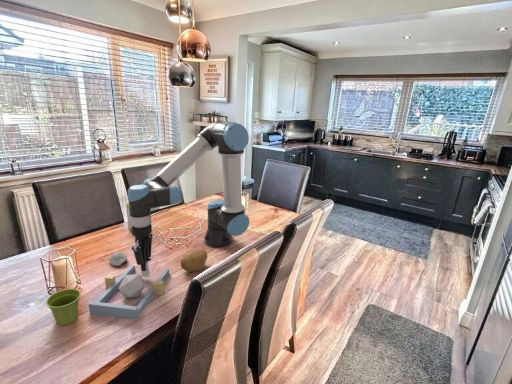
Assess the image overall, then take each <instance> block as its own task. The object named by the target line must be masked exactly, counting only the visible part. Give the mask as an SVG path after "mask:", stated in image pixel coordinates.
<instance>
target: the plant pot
mask: <svg viewBox="0 0 512 384" xmlns="http://www.w3.org/2000/svg"><path fill="white" fill-rule="evenodd" d="M81 294H82V293H81V291H80V290H79V289H77V288H65V289H60V290H58V291H56V292H54V293H53V294H51V295H49V297H47V298H46V301H45V304H46V306H47V307H48V308H49V309H50V311H51V314H52V315H53V318H54V321H55V322H56V325H58V326H64V325H66V326H67V325H70V324H72V323H74V322H75V321H76V320H78V316H79V301H80V298H81Z"/></svg>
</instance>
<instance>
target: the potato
mask: <svg viewBox="0 0 512 384" xmlns="http://www.w3.org/2000/svg"><path fill="white" fill-rule="evenodd" d="M207 259H208V253H207V251H206V250H203V249H198V250H195V251H192V252H189V253H188V254H185V256H183V257H182V258H180V267H181V269H183V270H184V271H185V272H188V273H193V272H197V271H199V270H202V269H203V268H204V267H205V264H206V262H207Z"/></svg>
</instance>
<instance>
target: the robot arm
mask: <svg viewBox="0 0 512 384" xmlns="http://www.w3.org/2000/svg"><path fill="white" fill-rule="evenodd" d="M249 139H250V135H249V132H248V130H247V129H246V127H245V126H244V125H242V123H237V122H235V121H224V120H216V121H214V122H212V123H210V124H208V126H206V127H204V128H203V129H202V130H201V131H200V132H199V133H198V134H197V135H196V139H195V140H194V141H192V142H191V143H190V144H189V145H188V146H187V147H185V149H184V150H182V151H181V152H180V153H179V154H178V155H177V156H176V157H174V159H172V160H171V161H170V162H169V163H168V164H166V166H164V167H163V169H161V170H159V172H158V173H157V174H156V175H155V176H153V177H151V178H146V179H145V180H144V181H143V183H142V184H135V185H132V186H130V187H128V189H127V200H128V203H129V210H130V219H131V225H132V226H131V232H132V234H131V235H132V236H133V237H135V238H134V243H135V244H134V245H133V246H132V247H131V250H132V252H133V254H134V255H133V256H134V257H135V260H136V261H135V263H136V265H138V266H140V271H141V272H140V275H141V277H142V278H143V277H145V278H149V276H151V275H150V266H149V265H150V264H149V263H150V262H151V260H152V258H151V257H152V246H153V245H152V244H153V233H152V232H153V227H152V226H153V225H152V214H151V210H152V209H156V208H162V207H168V206H173V205H176V204H179V203H180V202H181V192H180V189H179V188H178V187H177V186H176V185H175V186H174V185H173V186H172V184H174V183H175V181H177V180H178V179H179V178H180V177H181V176H182V175H183V174H185V173H186V172H187V170H189V169H190V168H191V167H192V166H193V165H194V164H195V163H196V162H197V161H198V160H199V159H201V158H202V157H203V156H204V155H205V154H206V153H208V152H212V151H213V150H214V149H215V148H217V149H218V151H217V153H218V154H219V155H220V156H221V158H222V159H221V160H222V161H221V162H222V185H223V187H222V188H223V189H222V190H223V199H215V200H212V201H211V200H210V201H209V202H208V204H207V230H206V232H205V235H204V243H205V245H207V246H209V247H212V248H224V247H226V246H229V245H231V244H232V243H233V236H234V237H238V236H241V235H243V234H244V233H245V232H246V230H247V229H248V228H249V226H250V218H249V216H248V215H247V214H246V213H245V212H246V211H245V210H246V207H245V205H244V204H242V202H243V201H242V161H241V160H242V159H241V158H242V157H241V156H242V155H243V154H244V153H245V149H246V147H247V145H248V144H249ZM131 232H130V233H131Z"/></svg>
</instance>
